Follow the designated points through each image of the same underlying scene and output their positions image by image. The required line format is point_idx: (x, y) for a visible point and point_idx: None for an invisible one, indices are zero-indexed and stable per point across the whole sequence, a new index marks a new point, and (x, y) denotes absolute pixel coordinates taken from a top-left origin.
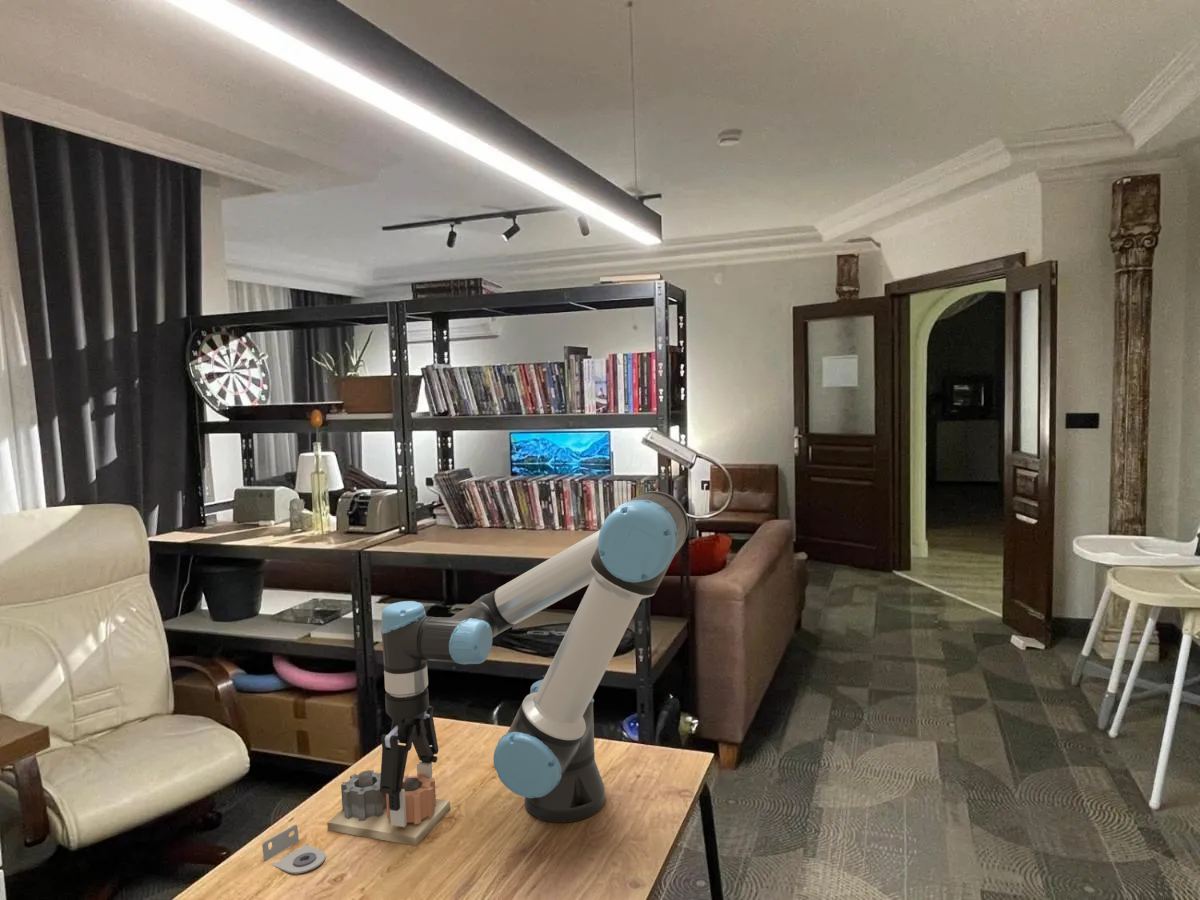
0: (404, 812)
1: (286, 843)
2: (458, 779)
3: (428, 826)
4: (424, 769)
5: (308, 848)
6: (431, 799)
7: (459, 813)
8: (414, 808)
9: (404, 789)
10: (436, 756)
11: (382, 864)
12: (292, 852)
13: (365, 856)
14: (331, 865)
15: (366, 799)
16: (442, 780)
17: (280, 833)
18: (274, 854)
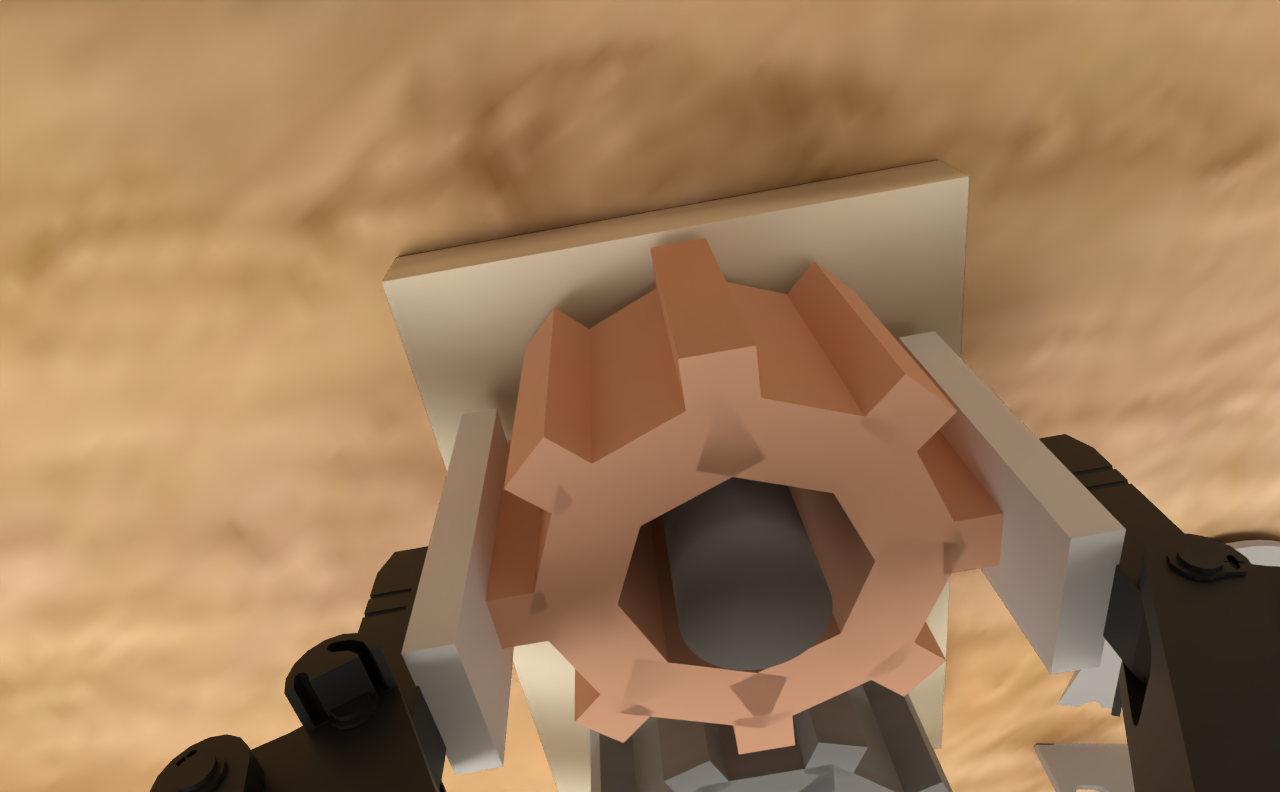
0: (971, 391)
1: (1109, 766)
2: (38, 466)
3: (758, 207)
4: (480, 651)
5: (1093, 675)
6: (717, 298)
7: (405, 134)
8: (901, 350)
9: (1074, 538)
10: (289, 700)
11: (1187, 235)
12: None
13: (1114, 392)
14: (1220, 494)
15: (877, 731)
16: (142, 550)
17: None
18: None
